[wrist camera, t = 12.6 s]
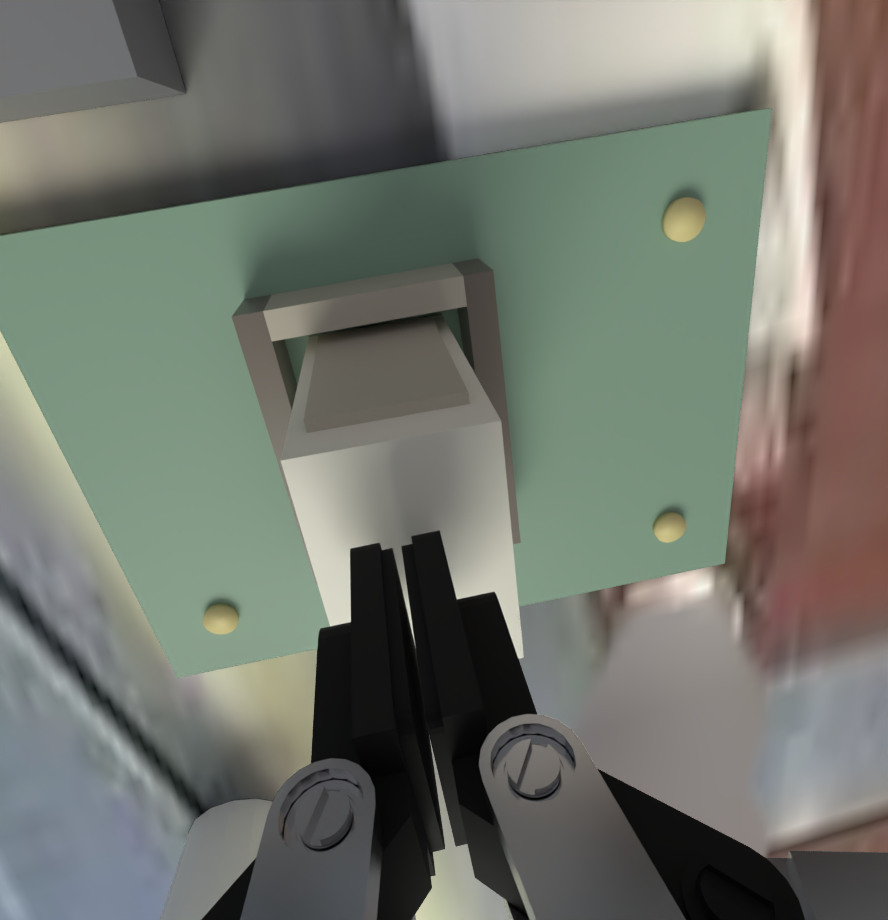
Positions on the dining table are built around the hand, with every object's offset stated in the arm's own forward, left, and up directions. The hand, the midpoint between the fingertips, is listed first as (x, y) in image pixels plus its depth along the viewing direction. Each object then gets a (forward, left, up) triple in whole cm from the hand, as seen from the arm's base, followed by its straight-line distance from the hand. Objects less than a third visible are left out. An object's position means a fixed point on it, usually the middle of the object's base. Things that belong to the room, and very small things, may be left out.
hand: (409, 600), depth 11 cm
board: (-1, +1, -10) cm, 10 cm away
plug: (0, 0, -9) cm, 9 cm away
